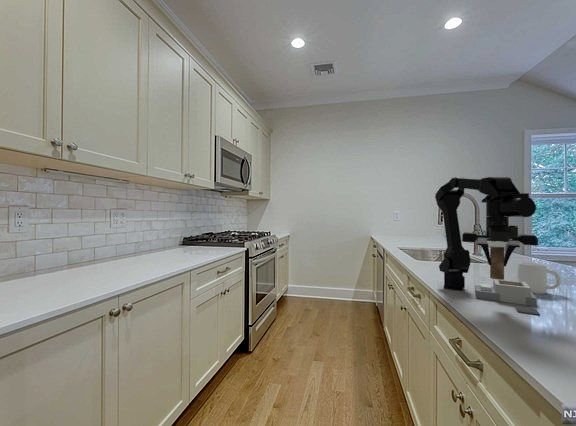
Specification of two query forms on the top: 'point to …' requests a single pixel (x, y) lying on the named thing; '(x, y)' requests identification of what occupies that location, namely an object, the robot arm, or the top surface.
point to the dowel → (497, 262)
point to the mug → (536, 276)
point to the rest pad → (527, 310)
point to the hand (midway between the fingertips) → (497, 265)
